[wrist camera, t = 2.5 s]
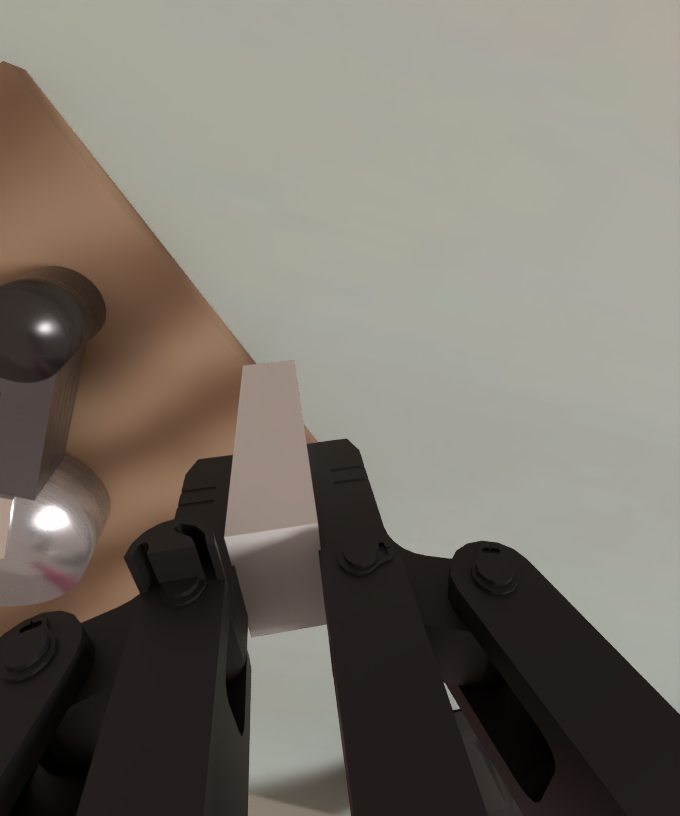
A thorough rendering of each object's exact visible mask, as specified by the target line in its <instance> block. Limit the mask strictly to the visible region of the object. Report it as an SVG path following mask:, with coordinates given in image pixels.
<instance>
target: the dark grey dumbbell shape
mask: <svg viewBox="0 0 680 816" xmlns="http://www.w3.org/2000/svg"><path fill="white" fill-rule="evenodd" d="M105 320H106V305H105V301H104V299H103V296H102V294H101V293H100V291H99V290H98V288H97V287H96V286H95V285H94V284H93V283H92V282H91V281H90V280H89V279H88V278H87V277H85V276H84V275H82V274H81V273H79V272H77V271H75V270H72V269H70V268H66V267H61V266H47V267H42V268H40V269H37V270H35V271H33V272H30V273H28V274H26V275H24V276H21V277H19V278H17V279H15V280H12V281H10V282H8V283H6V284H3V285H1V286H0V606H26V605H33V604H38V603H43V602H46V601H49V600H52V599H55V598H57V597H59V596H61V595H63V594H65V593H66V592H68V591H69V590H71V589H72V588H73V587H74V586H75V585H76V584H77V583H78V582H79V581H80V579H81V578H82V576H83V574H84V572H85V570H86V568H87V565H88V563H89V561H90V559H91V556H92V554H93V552H94V550H95V548H96V545H97V543H98V541H99V539H100V536H101V534H102V532H103V530H104V528H105V525H106V523H107V521H108V518H109V516H110V510H111V502H110V497H109V494H108V491H107V489H106V487H105V485H104V483H103V482H102V480H101V479H100V478H99V477H98V475H97V474H96V473H95V472H94V471H93V470H92V469H90V468H89V467H88V466H87V465H85V464H84V463H83V462H81V461H79V460H78V459H76V458H74V457H72V456H70V455H68V454H66V453H65V451H66V446H67V441H68V436H69V431H70V426H71V421H72V416H73V410H74V405H75V400H76V395H77V390H78V385H79V380H80V375H81V370H82V365H83V360H84V355H85V350H86V345H87V343H88V342H89V341H90V340H91V339H92V338H93V337H94V336H95V335H96V334H97V333H98V332H99V331H100V330H101V328H102V327H103V325H104V323H105Z"/></svg>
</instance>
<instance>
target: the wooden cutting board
mask: <svg viewBox="0 0 680 816" xmlns="http://www.w3.org/2000/svg"><path fill="white" fill-rule="evenodd" d="M47 266H61V267H66V268H70V269H72V270H75V271H77V272H79V273H81V274H82V275H84V276H85V277H87V278H88V279H89V280H90V281H91V282H92V283H93V284H94V285H95V286H96V287H97V288H98V290H99V291H100V293H101V294H102V296H103V299H104V301H105V305H106V320H105V323H104V325H103V327H102V328H101V330H100V331H99V332H98V333H97V334H96V335H95V336H94V337H93V338H92V339H91V340H90V341H89V342H88V343H87V345H86V350H85V355H84V360H83V365H82V370H81V375H80V380H79V385H78V390H77V395H76V400H75V405H74V410H73V416H72V421H71V426H70V431H69V436H68V441H67V446H66V451H65V453H66V454H68V455H70V456H72V457H74V458H76V459H78V460H79V461H81V462H83V463H84V464H85V465H87V466H88V467H89V468H90V469H92V470H93V471H94V472H95V473H96V474H97V475H98V477H99V478H100V479H101V480H102V482H103V483H104V485H105V487H106V489H107V491H108V494H109V497H110V502H111V510H110V516H109V518H108V521H107V523H106V525H105V528H104V530H103V532H102V534H101V536H100V539H99V541H98V543H97V545H96V548H95V550H94V552H93V554H92V556H91V559H90V561H89V563H88V565H87V568H86V570H85V572H84V574H83V576H82V578H81V579H80V581H79V582H78V583H77V584H76V585H75V586H74V587H73V588H72V589H71V590H69V591H68V592H66V593H65V594H63V595H61V596H59V597H57V598H55V599H52V600H49V601H46V602H43V603H38V604H33V605H26V606H0V637H1V636H2V635H3V634H4V633H6V632H7V631H9V630H10V629H12V628H13V627H15V626H16V625H18V624H19V623H21V622H22V621H24V620H26V619H29V618H31V617H33V616H36V615H38V614H41V613H44V612H52V611H59V610H61V611H64V612H68V613H71V614H74V615H75V616H76V618H77V619H78V620H79V621H80V623H82V622H84V621H86V620H89V619H91V618H93V617H96V616H98V615H100V614H103V613H105V612H107V611H110V610H112V609H114V608H117V607H119V606H121V605H123V604H124V603H126V602H128V601H130V600H132V599H133V598H135V597H136V596H137V595H139V594H140V592H139V590H138V588H137V586H136V584H135V582H134V579H133V577H132V575H131V573H130V571H129V568H128V566H127V564H126V562H125V560H124V558H123V557H124V555H125V554H126V552H127V550H128V549H129V547H130V545H131V544H132V543H133V542H134V541H135V540H136V539H137V538H138V537H139V536H140V535H141V534H143V533H144V532H145V531H147V530H148V529H150V528H152V527H154V526H156V525H158V524H160V523H162V522H166V521H169V520H173V519H174V518H175V514H176V510H177V508H178V502H179V498H180V494H182V492H181V490H182V486H183V482H184V478H185V475H186V473H187V472H188V471H189V470H190V468H191V467H192V466H193V465H194V464H195V462H196V461H197V460H198V459H204V458H212V457H219V456H227V455H233V451H234V442H235V433H236V424H237V415H238V406H239V397H240V388H241V378H242V369H243V365H252V364H256V363H255V362H254V360H253V359H252V358H251V357H250V355H249V354H248V353H247V352H246V350H245V349H244V348H243V346H242V345H241V344H240V343H239V341H238V340H237V339H236V338H235V336H234V335H233V334H232V332H231V331H230V330H229V329H228V327H227V326H226V325H225V324H224V322H223V321H222V320H221V318H220V317H219V316H218V315H217V313H216V312H215V311H214V310H213V308H212V307H211V306H210V304H209V303H208V302H207V301H206V299H205V298H204V297H203V296H202V294H201V293H200V292H199V290H198V289H197V288H196V287H195V285H194V284H193V283H192V282H191V280H190V279H189V278H188V276H187V275H186V274H185V273H184V271H183V270H182V269H181V268H180V266H179V265H178V264H177V262H176V261H175V260H174V259H173V257H172V256H171V255H170V254H169V252H168V251H167V250H166V248H165V247H164V246H163V245H162V243H161V242H160V241H159V240H158V238H157V237H156V236H155V234H154V233H153V232H152V231H151V229H150V228H149V227H148V226H147V224H146V223H145V222H144V220H143V219H142V218H141V217H140V215H139V214H138V213H137V212H136V210H135V209H134V208H133V206H132V205H131V204H130V203H129V201H128V200H127V199H126V197H125V196H124V195H123V194H122V192H121V191H120V190H119V189H118V187H117V186H116V185H115V183H114V182H113V181H112V180H111V178H110V177H109V176H108V175H107V173H106V172H105V171H104V169H103V168H102V167H101V166H100V164H99V163H98V162H97V161H96V159H95V158H94V157H93V155H92V154H91V153H90V152H89V150H88V149H87V148H86V147H85V145H84V144H83V143H82V141H81V140H80V139H79V138H78V136H77V135H76V134H75V133H74V131H73V130H72V129H71V127H70V126H69V125H68V124H67V122H66V121H65V120H64V119H63V117H62V116H61V115H60V113H59V112H58V111H57V110H56V108H55V107H54V106H53V105H52V103H51V102H50V101H49V99H48V98H47V97H46V96H45V94H44V93H43V92H42V91H41V89H40V88H39V87H38V85H37V84H36V83H35V82H34V80H33V79H32V78H31V77H30V75H29V74H28V73H27V71H26V70H24V69H22V68H19V67H17V66H14V65H12V64H9V63H7V62H4V61H2V62H1V63H0V286H1V285H3V284H6V283H8V282H10V281H12V280H15V279H17V278H19V277H21V276H24V275H26V274H28V273H30V272H33V271H35V270H37V269H40V268H42V267H47ZM304 430H305V437H306V444H309V443H317V441H316V439H315V438H314V437H313V436H312V434H311V433H310V432H309V430H308V429H307V428H306V427H305V425H304Z"/></svg>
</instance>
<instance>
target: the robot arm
mask: <svg viewBox="0 0 680 816" xmlns="http://www.w3.org/2000/svg"><path fill="white" fill-rule="evenodd" d="M181 492H182V494H180V498H179V502H178V508H177V510H176V514H175V518H174V519H173V520H169V521H166V522H162V523H160V524H158V525H156V526H154V527H152V528H150V529H148V530H147V531H145V532H144V533H143V534H141V535H140V536H139V537H138V538H137V539H136V540H135V541H134V542H133V543H132V544H131V545H130V547H129V549H128V550H127V552H126V554H125V555H124V557H123V558H124V560H125V562H126V564H127V566H128V568H129V571H130V573H131V575H132V577H133V579H134V582H135V584H136V586H137V588H138V590H139V592H140V594H139V595H137V596H136V597H135V598H133V599H132V600H130V601H128V602H126V603H124V604H123V605H121V606H119V607H117V608H114V609H112V610H110V611H107V612H105V613H103V614H100V615H98V616H96V617H93V618H91V619H89V620H86V621H84V622H82V623H80V621H79V620H78V619H77V618H76V616H75V615H74V614H71V613H68V612H64V611H61V610H59V611H52V612H44V613H41V614H38V615H36V616H33V617H31V618H29V619H26V620H24V621H22V622H21V623H19V624H18V625H16V626H15V627H13V628H12V629H10V630H9V631H7V632H6V633H4V634H3V635H2V636H1V637H0V816H248V780H249V740H250V700H251V665H250V659H249V655H248V651H247V634H248V627H249V631H250V635H251V637H256V636H262V635H268V634H274V633H279V632H285V631H291V630H297V629H302V628H308V627H314V626H320V625H325V624H327V629H328V636H329V645H330V654H331V663H332V672H333V677H334V685H335V693H336V701H337V709H338V716H339V724H340V732H341V740H342V747H343V755H344V763H345V771H346V779H347V786H348V794H349V802H350V810H351V816H680V714H679V713H678V712H677V711H676V710H675V709H674V708H673V707H672V706H671V705H670V704H669V703H668V702H667V701H666V700H665V699H664V698H663V697H662V696H661V695H660V694H659V693H658V692H657V691H656V690H655V689H654V688H653V687H652V686H651V685H650V684H649V683H648V682H647V681H646V680H645V679H644V678H643V677H642V676H641V675H640V674H639V673H638V672H637V671H636V670H635V669H634V668H633V667H632V666H631V665H630V664H629V662H628V661H627V660H626V659H625V658H624V657H623V656H622V655H621V654H620V653H619V652H618V651H617V650H616V649H615V648H614V647H613V646H612V645H611V644H610V643H609V642H608V641H607V640H606V639H605V638H604V637H603V636H602V635H601V634H600V633H599V632H598V631H597V630H596V629H595V628H594V627H593V626H592V625H591V624H590V623H589V622H588V621H587V620H586V619H585V618H584V617H583V616H582V615H581V614H580V613H579V612H578V611H577V610H576V609H575V608H574V607H573V606H572V605H571V603H570V602H569V601H568V600H567V599H566V598H565V597H564V596H563V595H562V594H561V593H560V592H559V591H558V590H557V589H556V588H555V587H554V586H553V585H552V584H551V583H550V582H549V581H548V580H547V579H546V578H545V577H544V576H543V575H542V574H541V573H540V572H539V571H538V570H537V569H536V568H535V567H534V566H533V565H532V564H531V563H530V562H529V561H528V560H527V559H526V558H525V557H523V556H522V555H521V554H519V553H518V552H517V551H515V550H514V549H512V548H510V547H507V546H505V545H502V544H500V543H496V542H488V541H478V542H473V543H468V544H466V545H464V546H463V547H461V548H460V549H458V550H457V551H456V552H455V554H454V556H453V558H452V559H448V558H440V557H432V556H425V555H420V554H416V553H413V552H410V551H408V550H406V549H404V548H402V547H401V546H399V545H398V544H396V543H395V542H394V541H393V540H392V539H391V538H390V537H389V535H388V534H387V532H386V530H385V528H384V526H383V523H382V520H381V517H380V513H379V510H378V507H377V504H376V501H375V498H374V495H373V492H372V489H371V485H370V482H369V480H368V476H367V473H366V470H365V468H364V464H363V461H362V457H361V454H360V451H359V449H357V448H356V447H355V446H354V445H353V444H352V443H351V442H350V441H349V440H348V439H340V440H332V441H324V442H317V443H309V444H306V437H305V430H304V423H303V416H302V409H301V402H300V395H299V388H298V381H297V374H296V367H295V360H289V361H280V362H271V363H262V364H252V365H243V369H242V378H241V388H240V397H239V406H238V415H237V424H236V433H235V442H234V451H233V455H227V456H219V457H212V458H204V459H198V460H197V461H196V462H195V464H194V465H193V466H192V467H191V468H190V470H189V471H188V472H187V473H186V475H185V478H184V482H183V486H182V490H181ZM443 682H444V683H446V685H447V687H448V689H449V690H450V692H451V694H452V695H453V697H454V699H455V700H456V702H457V704H458V706H459V707H460V709H461V711H459V712H455V713H453V710H452V707H451V704H450V701H449V698H448V695H447V692H446V689H445V686H444V683H443Z"/></svg>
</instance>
